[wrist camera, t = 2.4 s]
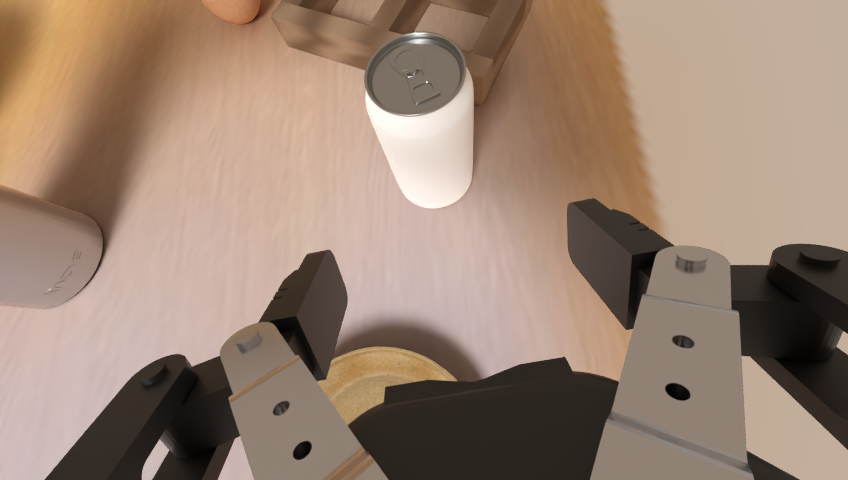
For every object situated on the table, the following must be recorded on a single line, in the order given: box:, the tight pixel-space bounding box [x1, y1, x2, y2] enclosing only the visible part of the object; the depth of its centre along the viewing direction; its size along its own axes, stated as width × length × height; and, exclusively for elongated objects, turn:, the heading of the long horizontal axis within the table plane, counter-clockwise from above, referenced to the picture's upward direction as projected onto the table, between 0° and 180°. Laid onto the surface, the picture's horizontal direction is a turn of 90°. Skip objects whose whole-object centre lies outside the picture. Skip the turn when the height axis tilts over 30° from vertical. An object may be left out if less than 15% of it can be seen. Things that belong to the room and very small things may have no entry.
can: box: [364, 32, 474, 208], centre depth 25 cm, size 6×6×12 cm
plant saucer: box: [317, 346, 458, 426], centre depth 23 cm, size 15×15×3 cm
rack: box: [271, 0, 532, 106], centre depth 34 cm, size 22×12×4 cm, turn 64°
